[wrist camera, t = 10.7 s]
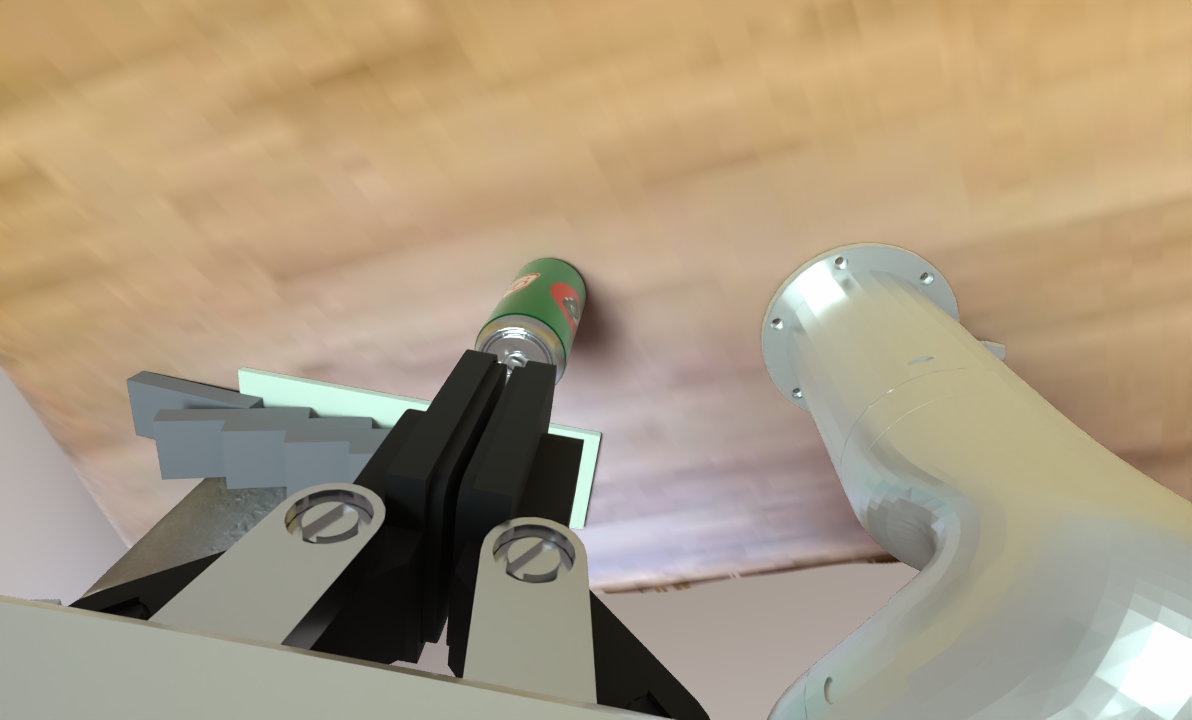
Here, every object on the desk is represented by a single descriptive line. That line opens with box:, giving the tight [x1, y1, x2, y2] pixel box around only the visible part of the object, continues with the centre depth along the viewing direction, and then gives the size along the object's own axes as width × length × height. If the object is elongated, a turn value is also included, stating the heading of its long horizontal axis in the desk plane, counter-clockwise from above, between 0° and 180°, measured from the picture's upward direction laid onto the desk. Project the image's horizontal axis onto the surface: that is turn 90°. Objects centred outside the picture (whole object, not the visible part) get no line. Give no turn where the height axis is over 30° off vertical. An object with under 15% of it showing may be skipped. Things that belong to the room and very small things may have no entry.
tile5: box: [153, 408, 311, 479], centre depth 49 cm, size 2×5×10 cm
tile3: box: [284, 429, 391, 498], centre depth 49 cm, size 2×5×10 cm
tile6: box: [127, 371, 263, 440], centre depth 51 cm, size 2×5×10 cm
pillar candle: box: [80, 477, 287, 599], centre depth 49 cm, size 10×10×15 cm
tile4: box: [221, 417, 372, 489], centre depth 49 cm, size 2×5×10 cm
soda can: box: [475, 258, 586, 385], centre depth 40 cm, size 5×5×12 cm
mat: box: [238, 367, 601, 529], centre depth 51 cm, size 28×9×1 cm, turn 81°
